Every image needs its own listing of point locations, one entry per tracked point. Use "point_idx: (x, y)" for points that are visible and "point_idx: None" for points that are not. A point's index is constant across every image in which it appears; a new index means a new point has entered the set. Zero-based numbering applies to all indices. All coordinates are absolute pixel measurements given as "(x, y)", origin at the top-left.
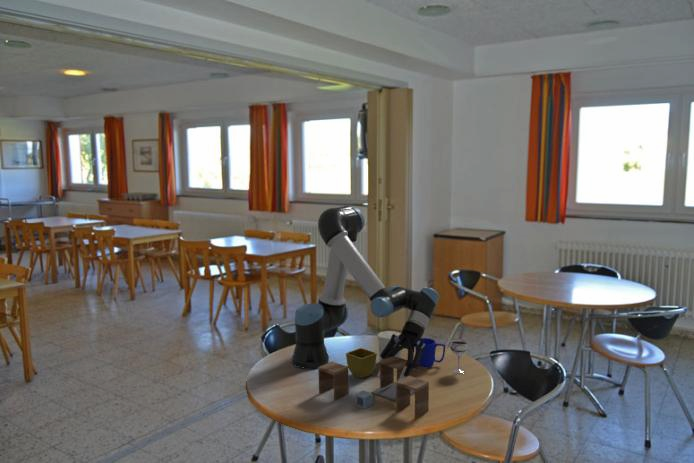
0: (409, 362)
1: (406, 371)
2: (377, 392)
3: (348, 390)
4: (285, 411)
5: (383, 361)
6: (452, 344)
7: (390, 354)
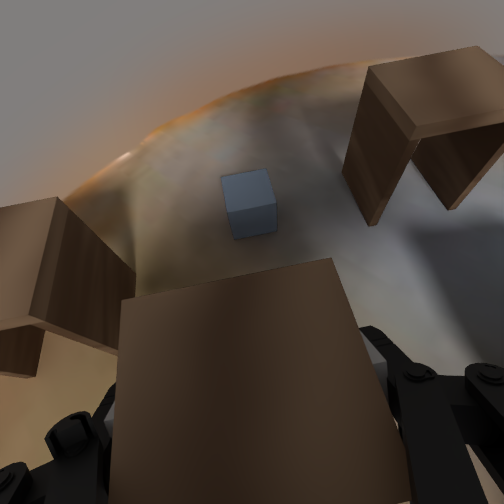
0: (64, 479)
1: None
2: None
3: (371, 217)
4: (350, 75)
5: (308, 276)
6: None
7: (408, 448)
